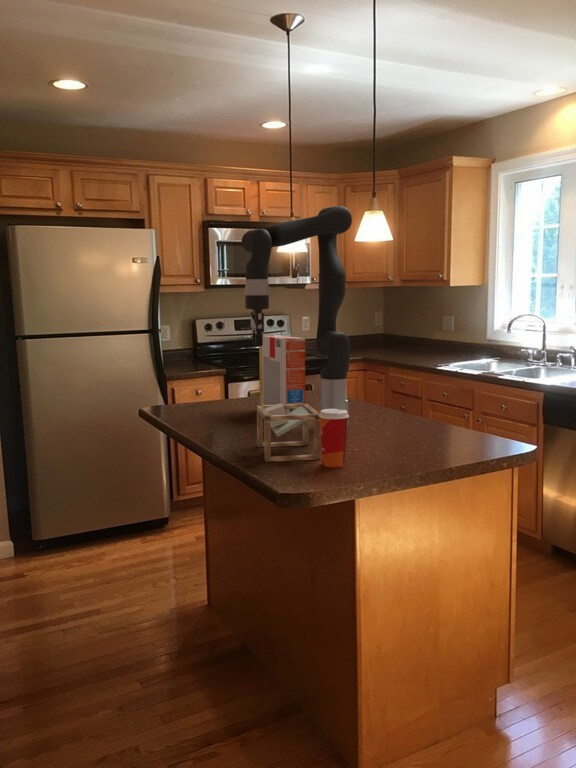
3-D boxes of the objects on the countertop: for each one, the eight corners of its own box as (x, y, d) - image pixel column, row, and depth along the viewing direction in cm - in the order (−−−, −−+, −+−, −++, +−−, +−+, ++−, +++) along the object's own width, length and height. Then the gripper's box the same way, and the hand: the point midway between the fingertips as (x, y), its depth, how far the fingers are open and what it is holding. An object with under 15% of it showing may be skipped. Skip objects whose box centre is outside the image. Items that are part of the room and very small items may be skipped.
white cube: (285, 418, 192) (280, 403, 191) (288, 422, 187) (283, 405, 187) (270, 424, 192) (264, 408, 191) (272, 427, 187) (267, 411, 186)
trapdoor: (303, 408, 198) (301, 405, 198) (313, 417, 183) (311, 414, 183) (270, 426, 197) (269, 423, 197) (277, 437, 182) (276, 434, 182)
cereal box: (305, 418, 244) (305, 338, 240) (286, 420, 240) (285, 339, 236) (277, 408, 264) (277, 334, 260) (259, 410, 260) (259, 335, 256)
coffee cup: (330, 459, 183) (330, 407, 181) (354, 464, 178) (355, 410, 176) (312, 465, 177) (312, 411, 174) (336, 470, 171) (337, 415, 169)
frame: (307, 444, 202) (307, 403, 200) (320, 459, 183) (320, 414, 181) (257, 446, 199) (256, 405, 197) (265, 461, 181) (264, 416, 179)
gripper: (272, 294, 199) (272, 346, 201) (265, 294, 213) (266, 343, 215) (247, 294, 198) (248, 347, 200) (243, 294, 211) (243, 343, 214)
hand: (257, 345), depth 207 cm, fingers open, 8 cm apart
